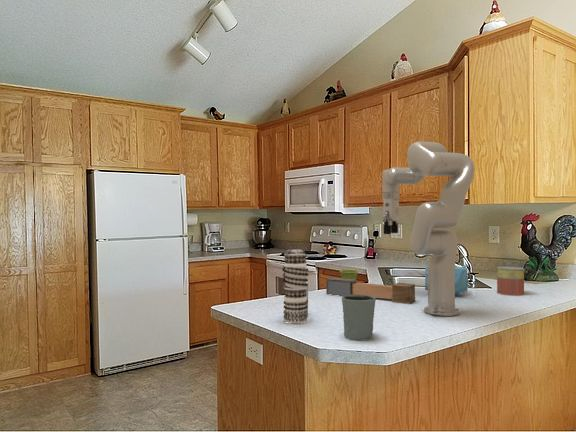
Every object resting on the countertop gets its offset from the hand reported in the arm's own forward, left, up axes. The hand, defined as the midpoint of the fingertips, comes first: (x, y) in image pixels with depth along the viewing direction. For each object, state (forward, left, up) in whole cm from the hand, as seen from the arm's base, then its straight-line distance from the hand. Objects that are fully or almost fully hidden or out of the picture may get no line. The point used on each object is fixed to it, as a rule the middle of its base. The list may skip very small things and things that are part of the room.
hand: (390, 233), depth 194 cm
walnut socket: (-12, -10, -28) cm, 32 cm away
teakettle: (+14, -22, -28) cm, 39 cm away
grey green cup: (-69, -14, -28) cm, 76 cm away
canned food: (+32, -46, -29) cm, 63 cm away
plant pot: (+6, +24, -28) cm, 38 cm away
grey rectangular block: (-12, +19, -28) cm, 36 cm away
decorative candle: (-64, +12, -28) cm, 71 cm away
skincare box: (-55, +16, -28) cm, 64 cm away
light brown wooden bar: (-12, +4, -28) cm, 31 cm away
